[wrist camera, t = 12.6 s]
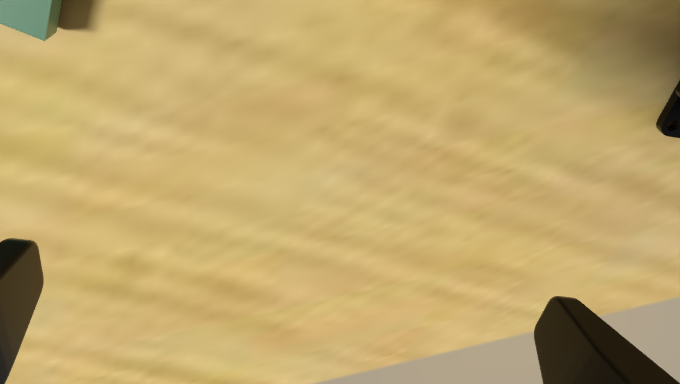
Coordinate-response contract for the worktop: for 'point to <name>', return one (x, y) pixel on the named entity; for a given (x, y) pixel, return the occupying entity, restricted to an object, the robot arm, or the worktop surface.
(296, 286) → the worktop surface
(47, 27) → the board
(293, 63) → the worktop surface
